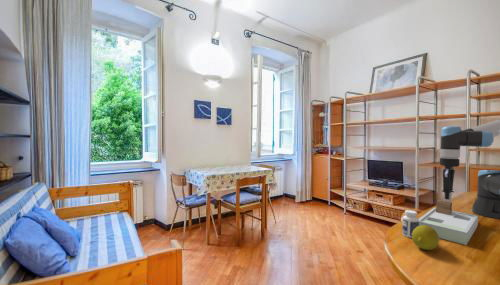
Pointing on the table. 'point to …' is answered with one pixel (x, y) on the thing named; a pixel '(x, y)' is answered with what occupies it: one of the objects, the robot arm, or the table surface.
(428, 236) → the lemon
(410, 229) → the pill bottle
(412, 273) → the table surface
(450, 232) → the board
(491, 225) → the table surface
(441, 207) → the walnut block
